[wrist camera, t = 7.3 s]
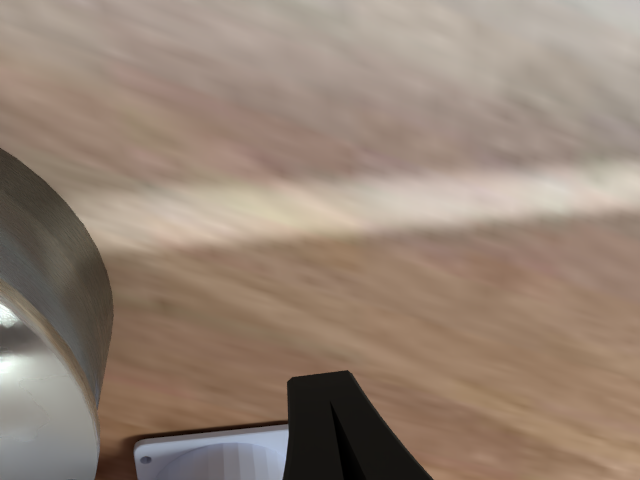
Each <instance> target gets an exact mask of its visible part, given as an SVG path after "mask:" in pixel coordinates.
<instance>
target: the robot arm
mask: <svg viewBox="0 0 640 480" xmlns="http://www.w3.org/2000/svg"><path fill="white" fill-rule="evenodd" d="M287 395H288V424H285V425H276V426H266V427H256V428H247V429H237V430H227V431H218V432H208V433H198V434H189V435H179V436H169V437H160V438H150V439H143V440H140V441H138V442H136V444H135V446H134V459H135V466H136V472H137V479H138V480H433V478H432V477H431V476H430V475H429V474H428V473H427V472H426V471H425V470H424V469H423V467H422V466H421V465H420V464H419V463H418V462H417V461H416V460H415V458H414V457H413V456H412V455H411V454H410V452H409V451H408V450H407V449H406V448H405V446H404V445H403V444H402V443H401V441H400V440H399V439H398V438H397V437H396V435H395V434H394V433H393V432H392V430H391V429H390V428H389V427H388V425H387V424H386V423H385V421H384V420H383V419H382V417H381V416H380V415H379V413H378V412H377V410H376V409H375V408H374V406H373V405H372V404H371V402H370V401H369V399H368V398H367V396H366V395H365V393H364V392H363V390H362V389H361V387H360V386H359V384H358V383H357V381H356V379H355V378H354V376H353V374H352V373H350V372H349V371H348V370H346V371H338V372H330V373H322V374H314V375H306V376H299V377H292V378H291V379H290V380H289V381H288V382H287ZM145 456H149V457H145Z"/></svg>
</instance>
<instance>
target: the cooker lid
mask: <svg viewBox="0 0 640 480" xmlns="http://www.w3.org/2000/svg"><path fill="white" fill-rule="evenodd" d="M99 452H100V423H99V418H98V412H97V407H96V401H95V398H94V396H93V393H92V390H91V388H90V385H89V383H88V380H87V377H86V375H85V373H84V371H83V369H82V368H81V366H80V364H79V363H78V361H77V359H76V358H75V356H74V354H73V352H72V351H71V349H70V347H69V346H68V345H67V343H66V342H65V341H64V340H63V338H62V337H61V336H60V335H59V333H58V332H57V331H56V330H55V328H54V327H53V326H52V325H51V324H50V322H49V321H48V320H47V319H46V318H45V317H44V316H43V315H42V314H41V313H40V312H39V311H38V310H37V309H36V308H35V307H34V306H33V305H32V304H31V303H30V302H29V301H28V300H26V299H25V298H24V297H23V296H22V295H21V294H20V293H19V292H18V291H17V290H16V289H14V288H13V287H12V286H10V285H9V284H8V283H6V282H5V281H4V280H2V279H1V278H0V480H94V479H95V475H96V470H97V464H98V458H99Z"/></svg>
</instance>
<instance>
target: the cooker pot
mask: <svg viewBox="0 0 640 480" xmlns="http://www.w3.org/2000/svg"><path fill="white" fill-rule="evenodd" d="M0 278H1V279H2V280H4V281H5V282H6V283H8V284H9V285H10V286H12V287H13V288H14V289H16V290H17V291H18V292H19V293H20V294H21V295H22V296H23V297H24V298H25V299H26V300H28V301H29V302H30V303H31V304H32V305H33V306H34V307H35V308H36V309H37V310H38V311H39V312H40V313H41V314H42V315H43V316H44V317H45V318H46V319H47V320H48V321H49V322H50V324H51V325H52V326H53V327H54V328H55V330H56V331H57V332H58V333H59V335H60V336H61V337H62V338H63V340H64V341H65V342H66V343H67V345H68V346H69V347H70V349H71V351H72V352H73V354H74V356H75V358H76V359H77V361H78V363H79V364H80V366H81V368H82V369H83V371H84V373H85V375H86V377H87V380H88V383H89V385H90V388H91V390H92V393H93V396H94V398H95V401H96V407H97V410H98V404H99V399H100V394H101V388H102V383H103V378H104V372H105V367H106V362H107V356H108V351H109V346H110V340H111V334H112V325H113V316H114V315H113V299H112V291H111V287H110V283H109V278H108V274H107V270H106V268H105V266H104V263H103V261H102V258H101V256H100V253H99V251H98V248H97V247H96V245H95V243H94V242H93V240H92V238H91V237H90V235H89V233H88V231H87V230H86V228H85V226H84V225H83V224H82V222H81V221H80V220H79V218H78V217H77V216H76V215H75V213H74V212H73V211H72V209H71V208H70V207H69V206H68V204H67V203H66V202H65V201H64V200H63V199H62V198H61V197H60V196H59V195H58V194H57V193H56V192H55V191H54V190H53V189H52V188H51V187H50V186H49V185H48V184H47V183H46V182H45V181H44V180H43V179H42V178H41V177H39V176H38V175H37V174H35V173H34V172H33V171H32V170H30V169H29V168H28V167H27V166H25V165H24V164H23V163H22V162H20V161H19V160H18V159H17V158H15V157H13V156H12V155H10V154H9V153H7V152H6V151H4V150H2V149H1V148H0Z"/></svg>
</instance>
